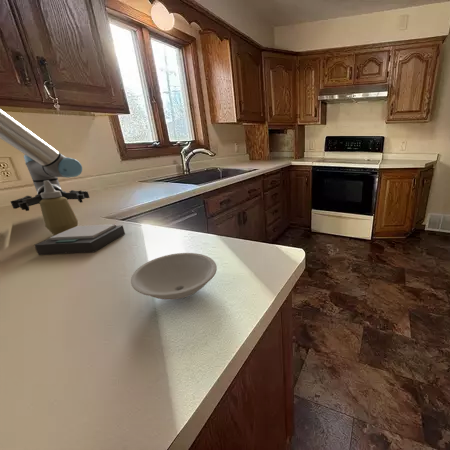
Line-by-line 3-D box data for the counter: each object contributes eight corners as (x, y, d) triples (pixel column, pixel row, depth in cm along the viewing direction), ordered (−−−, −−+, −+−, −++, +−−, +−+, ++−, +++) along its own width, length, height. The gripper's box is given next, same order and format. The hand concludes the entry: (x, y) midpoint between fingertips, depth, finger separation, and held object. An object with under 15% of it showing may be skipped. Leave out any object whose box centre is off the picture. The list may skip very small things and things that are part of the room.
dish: (236, 292, 48) (233, 270, 47) (159, 334, 38) (151, 308, 37) (193, 265, 60) (190, 246, 58) (125, 292, 49) (118, 270, 48)
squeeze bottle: (83, 232, 84) (64, 180, 77) (50, 240, 78) (27, 183, 72) (79, 227, 89) (62, 177, 83) (48, 234, 83) (27, 181, 77)
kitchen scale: (38, 254, 68) (32, 242, 66) (78, 235, 81) (74, 225, 80) (94, 252, 68) (89, 239, 67) (125, 233, 81) (122, 223, 80)
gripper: (93, 197, 107) (102, 205, 93) (8, 210, 90) (4, 222, 77) (87, 180, 105) (96, 186, 91) (-1, 190, 88) (-7, 198, 74)
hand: (54, 202), depth 84 cm, fingers open, 13 cm apart
